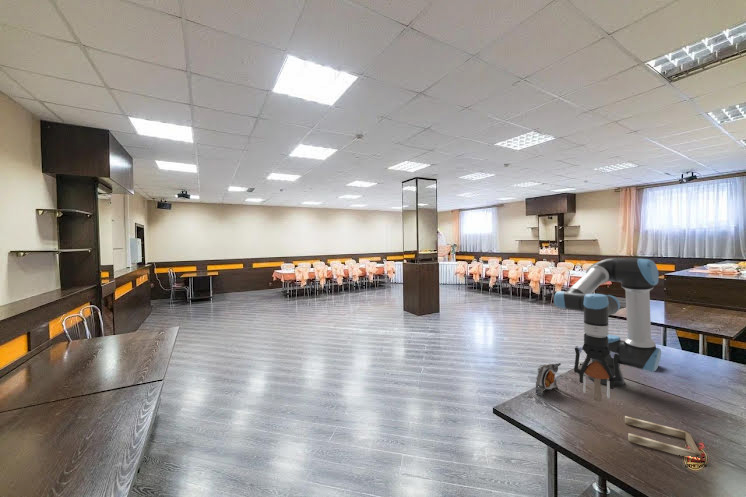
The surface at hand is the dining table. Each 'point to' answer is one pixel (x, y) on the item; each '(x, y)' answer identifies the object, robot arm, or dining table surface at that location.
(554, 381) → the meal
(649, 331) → the robot arm
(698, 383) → the dining table surface
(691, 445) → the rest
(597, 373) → the mushroom
